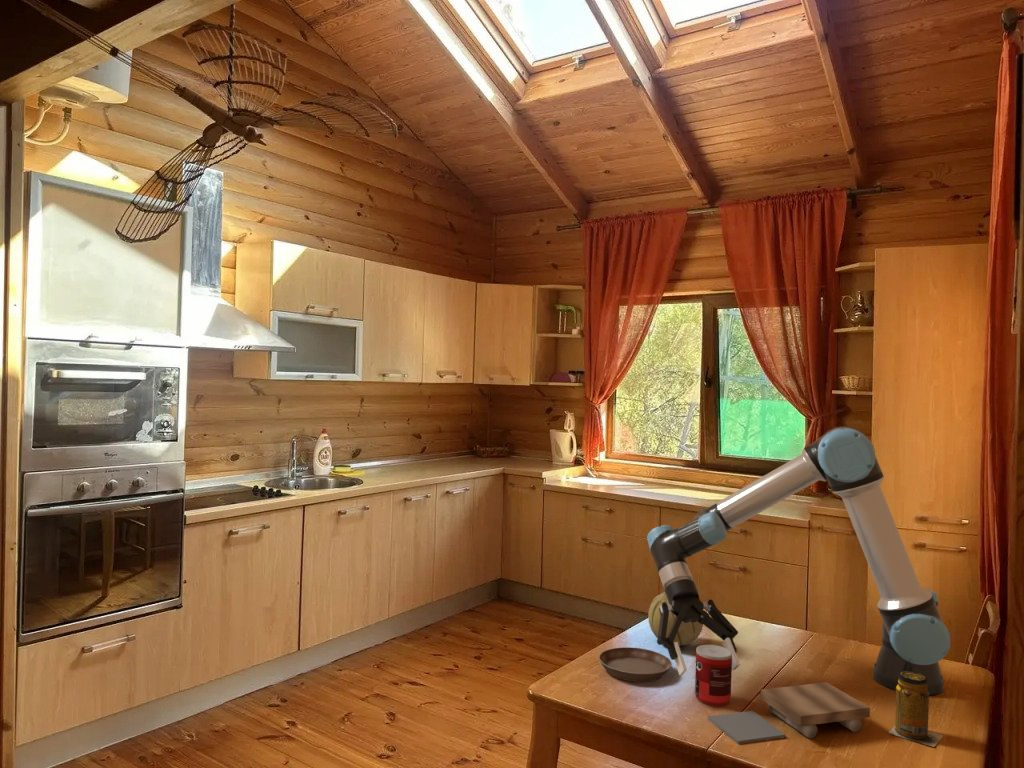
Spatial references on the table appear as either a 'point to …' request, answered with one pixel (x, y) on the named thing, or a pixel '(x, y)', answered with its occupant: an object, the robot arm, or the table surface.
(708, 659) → the canned food
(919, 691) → the condiment
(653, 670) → the plant saucer
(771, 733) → the rubber mat
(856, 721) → the walnut slab
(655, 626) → the cantaloupe
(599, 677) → the table surface
